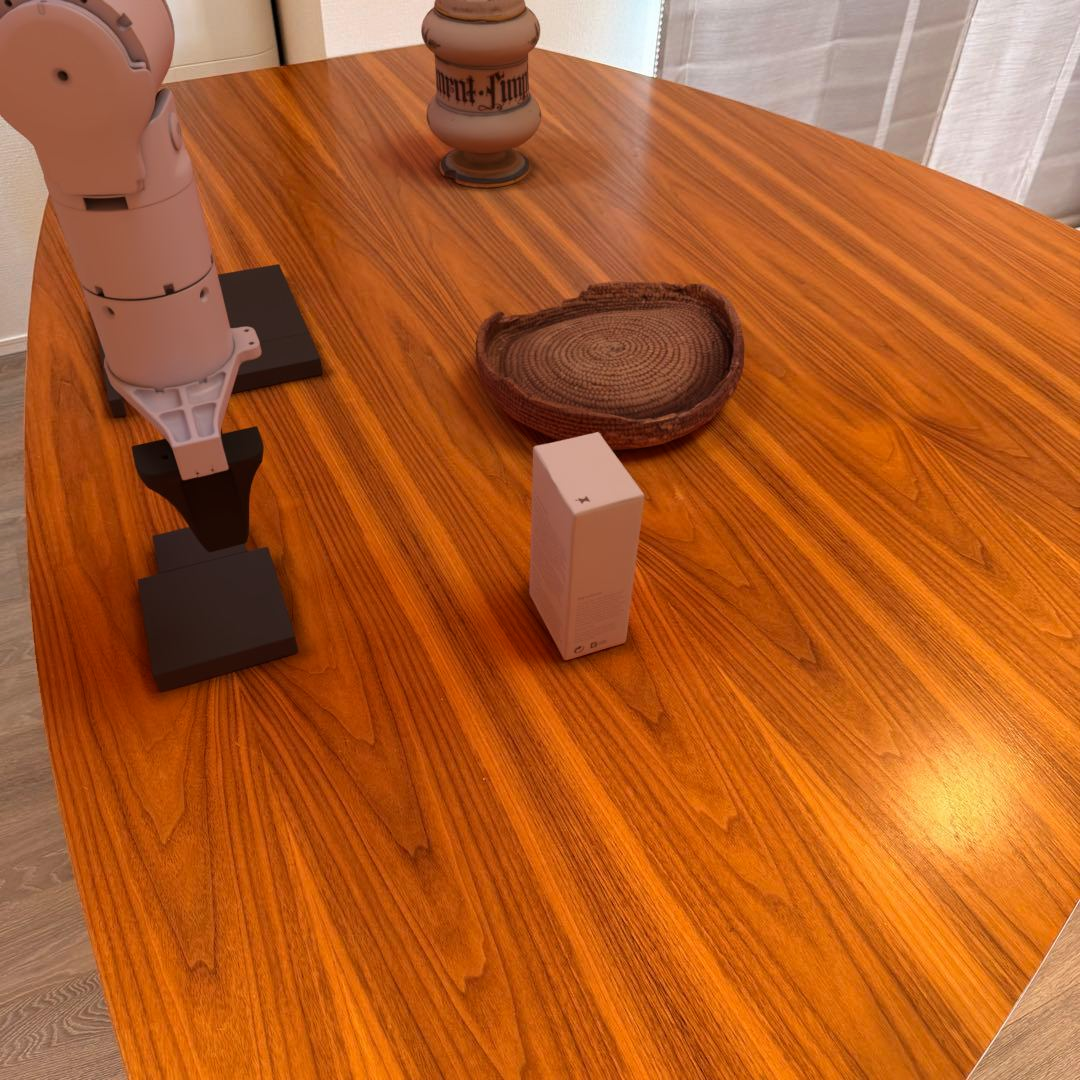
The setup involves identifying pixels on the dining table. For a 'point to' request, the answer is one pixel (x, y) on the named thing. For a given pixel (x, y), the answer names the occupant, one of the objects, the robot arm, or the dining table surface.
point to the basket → (616, 362)
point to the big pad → (259, 332)
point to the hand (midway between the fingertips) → (213, 497)
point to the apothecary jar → (482, 88)
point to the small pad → (211, 610)
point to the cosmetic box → (583, 543)
